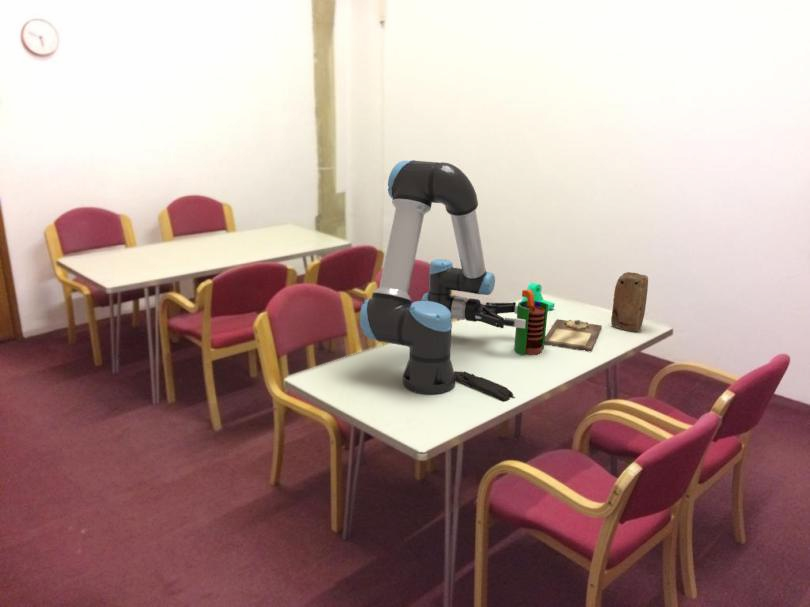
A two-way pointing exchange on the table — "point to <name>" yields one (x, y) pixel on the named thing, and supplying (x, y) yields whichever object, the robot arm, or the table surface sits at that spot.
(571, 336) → the mounting board
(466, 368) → the table surface
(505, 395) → the wood
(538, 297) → the camera mount
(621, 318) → the block
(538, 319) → the motor
